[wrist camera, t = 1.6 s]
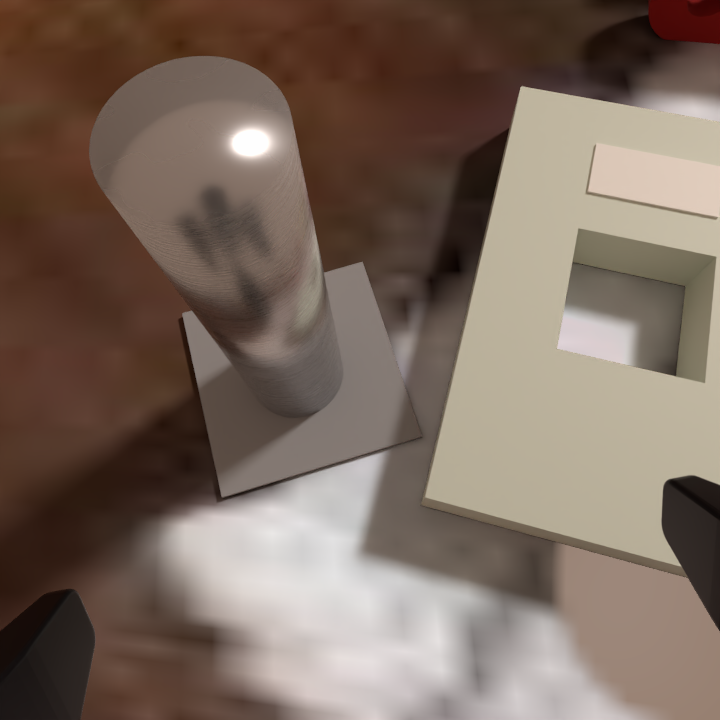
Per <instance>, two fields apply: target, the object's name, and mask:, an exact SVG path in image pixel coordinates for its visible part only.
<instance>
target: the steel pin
mask: <svg viewBox="0 0 720 720" xmlns="http://www.w3.org/2000/svg"><path fill="white" fill-rule="evenodd" d="M89 154H90V163H91V167H92V171H93V174H94V176H95V178H96V180H97V183H98V184H99V186H100V187H101V189H102V190H103V192H104V193H105V194H106V196H107V197H108V198H109V200H110V201H111V202H112V204H113V205H114V206H115V208H116V209H117V211H118V212H119V213H120V215H121V216H122V217H123V219H124V220H125V221H126V223H127V224H128V225H129V227H130V228H131V229H132V231H133V232H134V233H135V235H136V236H137V237H138V239H139V240H140V241H141V243H142V244H143V246H144V247H145V248H146V250H147V251H148V252H149V254H150V255H151V256H152V258H153V259H154V260H155V262H156V263H157V264H158V266H159V267H160V268H161V270H162V271H163V272H164V274H165V275H166V276H167V278H168V279H169V281H170V282H171V283H172V285H173V286H174V287H175V289H176V290H177V291H178V293H179V294H180V295H181V297H182V298H183V299H184V301H185V302H186V303H187V305H188V306H189V307H190V309H191V310H192V311H193V313H194V314H195V315H196V317H197V318H198V320H199V321H200V322H201V324H202V325H203V326H204V328H205V329H206V330H207V332H208V333H209V334H210V336H211V337H212V338H213V340H214V341H215V342H216V344H217V345H218V346H219V348H220V349H221V350H222V352H223V353H224V355H225V356H226V357H227V359H228V360H229V361H230V363H231V364H232V365H233V367H234V368H235V369H236V371H237V372H238V373H239V375H240V376H241V377H242V379H243V380H244V381H245V383H246V384H247V385H248V387H249V388H250V390H251V391H252V392H253V394H254V395H255V396H256V398H257V399H258V400H259V402H260V403H261V404H262V405H263V406H264V407H266V408H267V409H268V410H270V411H271V412H273V413H275V414H278V415H281V416H284V417H292V418H298V417H305V416H309V415H312V414H314V413H316V412H318V411H320V410H322V409H323V408H325V407H326V406H327V405H328V404H329V403H330V402H331V401H332V400H333V399H334V397H335V396H336V394H337V393H338V391H339V389H340V386H341V383H342V379H343V363H342V358H341V353H340V348H339V343H338V339H337V334H336V329H335V324H334V319H333V315H332V310H331V305H330V300H329V295H328V290H327V286H326V281H325V276H324V271H323V266H322V261H321V257H320V252H319V247H318V242H317V237H316V233H315V228H314V223H313V218H312V213H311V208H310V204H309V199H308V194H307V189H306V184H305V179H304V175H303V170H302V165H301V160H300V155H299V151H298V146H297V141H296V136H295V131H294V126H293V122H292V117H291V113H290V109H289V106H288V104H287V102H286V99H285V97H284V96H283V94H282V93H281V91H280V90H279V88H278V87H277V86H276V85H275V84H274V83H273V82H272V81H271V80H270V79H269V78H268V77H267V76H266V75H264V74H263V73H261V72H260V71H258V70H257V69H255V68H253V67H251V66H249V65H247V64H245V63H242V62H239V61H236V60H232V59H227V58H223V57H213V56H194V57H185V58H180V59H175V60H171V61H168V62H165V63H161V64H159V65H156V66H154V67H152V68H149V69H147V70H145V71H144V72H142V73H140V74H138V75H136V76H135V77H134V78H132V79H131V80H129V81H128V82H126V83H125V84H124V85H123V86H122V87H121V88H119V89H118V90H117V91H116V92H115V93H114V95H113V96H112V97H111V98H110V99H109V100H108V101H107V103H106V104H105V106H104V107H103V108H102V110H101V112H100V114H99V115H98V117H97V119H96V122H95V124H94V127H93V130H92V134H91V138H90V148H89Z"/></svg>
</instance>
